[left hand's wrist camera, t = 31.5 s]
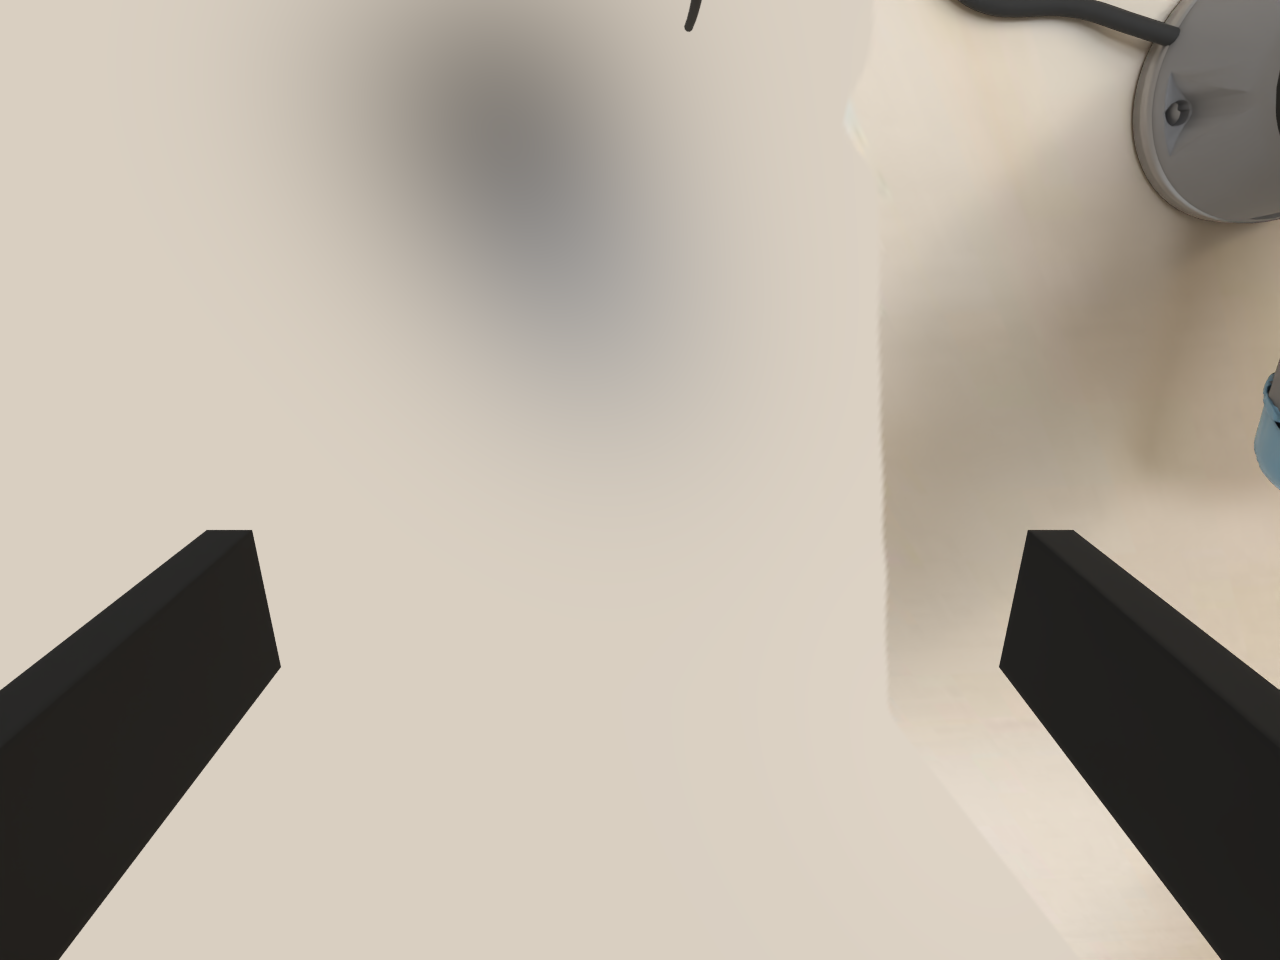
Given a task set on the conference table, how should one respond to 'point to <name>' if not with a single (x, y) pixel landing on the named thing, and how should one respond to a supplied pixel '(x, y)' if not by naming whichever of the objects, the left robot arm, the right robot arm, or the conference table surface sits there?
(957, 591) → the conference table surface
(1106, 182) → the conference table surface
